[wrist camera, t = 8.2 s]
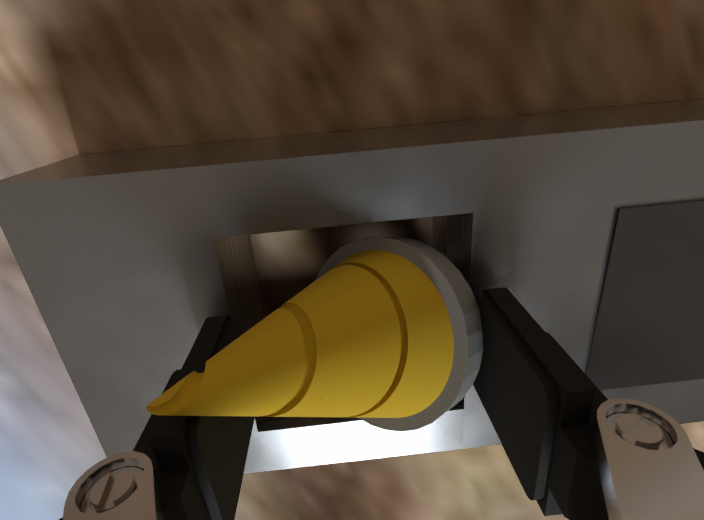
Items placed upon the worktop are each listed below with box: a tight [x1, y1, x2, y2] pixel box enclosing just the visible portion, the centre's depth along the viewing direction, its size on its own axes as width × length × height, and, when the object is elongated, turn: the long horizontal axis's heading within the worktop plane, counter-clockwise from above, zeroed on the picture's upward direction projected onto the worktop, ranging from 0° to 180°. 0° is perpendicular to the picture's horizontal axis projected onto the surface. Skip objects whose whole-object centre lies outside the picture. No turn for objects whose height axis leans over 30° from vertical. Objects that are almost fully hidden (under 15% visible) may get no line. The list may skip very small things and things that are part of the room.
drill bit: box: [146, 236, 483, 432], centre depth 10 cm, size 5×5×10 cm
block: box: [0, 99, 704, 474], centre depth 13 cm, size 24×10×4 cm, turn 95°
